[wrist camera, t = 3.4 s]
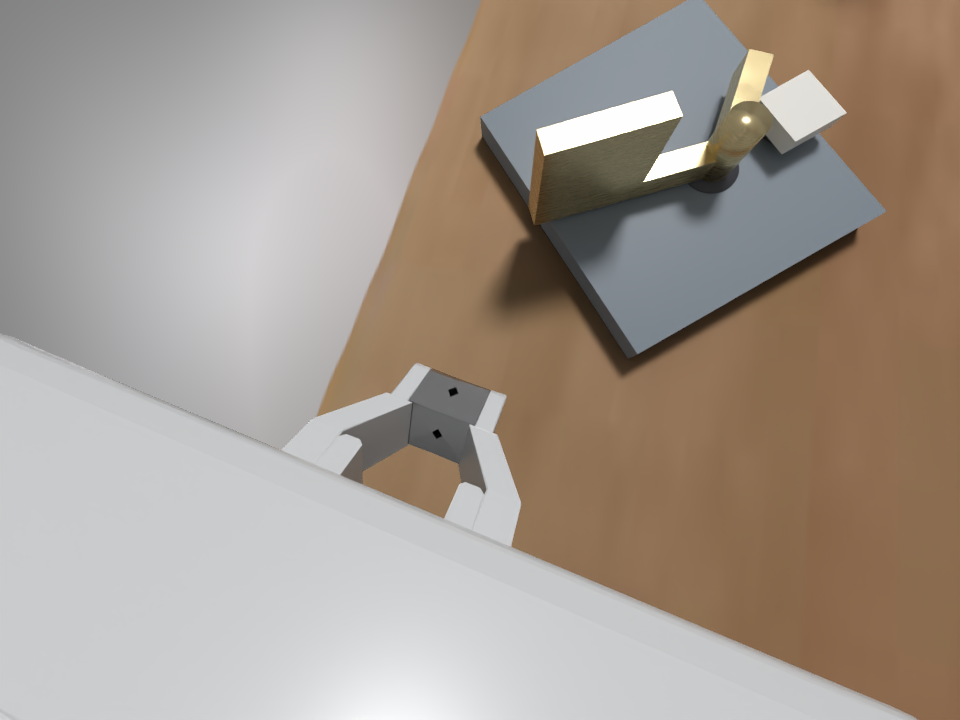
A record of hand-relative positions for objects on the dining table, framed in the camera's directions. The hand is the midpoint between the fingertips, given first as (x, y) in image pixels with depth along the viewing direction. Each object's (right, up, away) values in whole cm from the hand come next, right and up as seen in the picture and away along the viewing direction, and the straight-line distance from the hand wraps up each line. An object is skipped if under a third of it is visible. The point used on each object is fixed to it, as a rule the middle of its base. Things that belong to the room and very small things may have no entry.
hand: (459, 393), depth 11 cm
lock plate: (+15, +16, +17) cm, 28 cm away
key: (+13, +15, +15) cm, 25 cm away
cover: (+23, +18, +14) cm, 32 cm away
